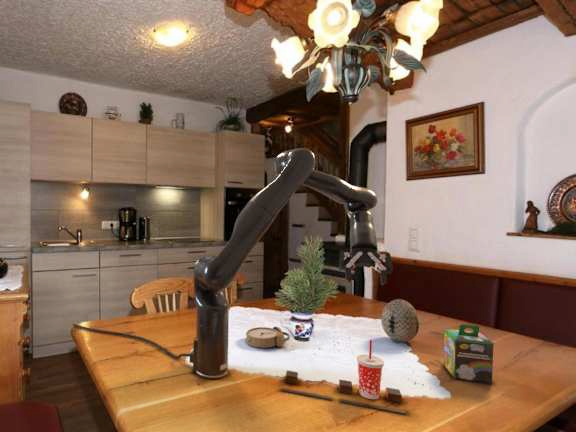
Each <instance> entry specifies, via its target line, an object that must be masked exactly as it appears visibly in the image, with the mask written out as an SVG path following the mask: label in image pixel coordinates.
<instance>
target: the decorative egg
mask: <svg viewBox="0 0 576 432" xmlns="http://www.w3.org/2000/svg"><path fill="white" fill-rule="evenodd" d="M419 318H420V317H419V315H418V312H417V310H416V308H415V307H414V306H413V305H412V304H411V303H410V302H409V301H407V300H404V299H401V298H396V299H393V300H391V301H389V302H388V303H387V304H386V305H385V306H384V308H383V310H382V313H381V319H380V320H381V327H382V329H383V331H384V333H385V334H386V335H387V336H388V337H389V338H390V339H392V340H394V341H396V342H399V343H400V342H401V343H404V342H410V341H411V340H414V339H415V337H416V336H417V335H418V332H419V329H420V319H419Z"/></svg>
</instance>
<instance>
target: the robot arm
mask: <svg viewBox="0 0 576 432" xmlns="http://www.w3.org/2000/svg"><path fill="white" fill-rule="evenodd" d="M315 156H316V155H315V154H314V152H313V151H312V150H311V149H309V148H303V147H302V148H301V147H300V148H299V147H298V148H293V149H288V150H285V151H282V152H280V153H279V154H278V155H276V157H275V160H274V171H275V172H276V174H277V175H278V176H277V177H276V178H275V179H274V180H273V181H272V182H271V183H270V184H268V185H267V186H265V187H264V188H262V189H261V190H260V191H258V192H257V193H256V194H254V196H252V198H250V200H249V201H248V202H247V203H246V205H245V206H244V207H243V209H242V210H241V211H240V213H239V214H238V216H237V218H236V221H235V223H234V227H233V231H232V233H231V236H230V238H229V240H228V242H227V244H226V245H225V246H224V247H223V248H222V250H221V251H220V252H219V253H218V254H217V255H214V254H205V255H202V256H201V257H199V258H198V259H197V261H196V262H195V265H194V269H193V299H194V303H195V306H196V313H195V315H196V316H195V322H196V323H195V338H194V339H193V349H192V351H191V352H190V353H180V354H178V355H176V354H173V353H172V352H171V351H170V350H168V349H167V348H165V347H163V346H162V345H160V344H158V343H157V342H155V341H152V340H150V339H148V338H145V337H142V336H139V335H136V334H135V335H134V334H130V333H124V332H117V331H111V330H104V329H97V328H91V327H86V326H82V325H79V324H76V323H72V326H73V327H76V328H78V329H82V330H87V331H90V332H91V331H92V332H98V333H105V334H112V335H113V334H114V335H118V336H125V337H130V338H134V339H138V340H142V341H145V342H147V343H149V344H152V345H154V346H155V347H157V348H159V349H160V350H162V351H164V352H165V353H166V354H168V355H169V356H170V357H172V358H174V359H180V358H182V357H189V363H190V364H191V363H192V373H193V374H196V375H198V377H201V378H205V379H210V380H214V379H215V380H217V379H221V378H224V377H226V376H227V375H228V373H229V319H230V303H229V302H228V300H227V298H226V296H225V293H224V290H226V289H228V288H229V287H230V286H231V285H232V283H233V282H234V280H235V279H236V278H237V275H239V272H240V270H241V268H242V267H243V266H244V264H245V262H246V260H247V258H248V257H249V255H250V254H251V252H252V251H253V250H254V249H255V248H256V246H257V244H258V242H259V241H260V240H261V238H262V237H263V235H265V233H266V232H267V231H268V229H269V228H270V227H271V225H272V224H273V223H274V221H275V219H277V217H278V215H279V213H280V212H282V210H283V209H284V207H285V206H286V204H287V203H288V202H289V200H290V199H291V197H292V196H293V195H294V194H295V193H296V191H297V190H298V189H300V187H301V186H305V187H307V188H309V189H311V190H314V191H316V192H318V193H320V194H322V195H324V196H326V197H328V198H329V199H331V200H333V201H335V202H337V203H339V204H341V205H343V208H344V210H345V212H346V214H347V217H348V219H349V228H350V229H349V246H350V247H349V248H350V249H349V252H348V251H345V249H340V251H339V258H338V259H339V261H338V263H339V264H338V270H339V271H344V273H345V281H347V282H348V283H352V270H354V269H355V268H356V267H357V266H358V268H359V267H360V268H364V267H365V268H373V269H374V270H375V271H377V272H378V273H379V281H380V286H385V285H386V284H387V281H388V276H387V274H389V275H391V274H393V269H394V265H393V262H392V256H391V253H390V252H385V253H384V254H381V253H380V252H379V251H378V241H377V232H376V228H375V223H374V222H375V221H374V215H373V214H372V213H371V212H370V210H372V209H374V208H375V207H376V206H377V205H378V202H379V201H378V196H377V194H376V193H375V192H373V191H372V190H371V189H369V188H366V187H363V186H358V185H354V184H350V183H348V182H347V181H345V180H343V179H342V178H340V177H338V176H335V175H332V174H330V173H326V172H323V171H320V170H317V169H315V167H316V157H315ZM347 258H349V259H350V260H349V262H348V263H347V264H346V263H345V260H346V259H347ZM381 261H382V262H383V263H384V264H385V265H383V264H382V262H381Z"/></svg>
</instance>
